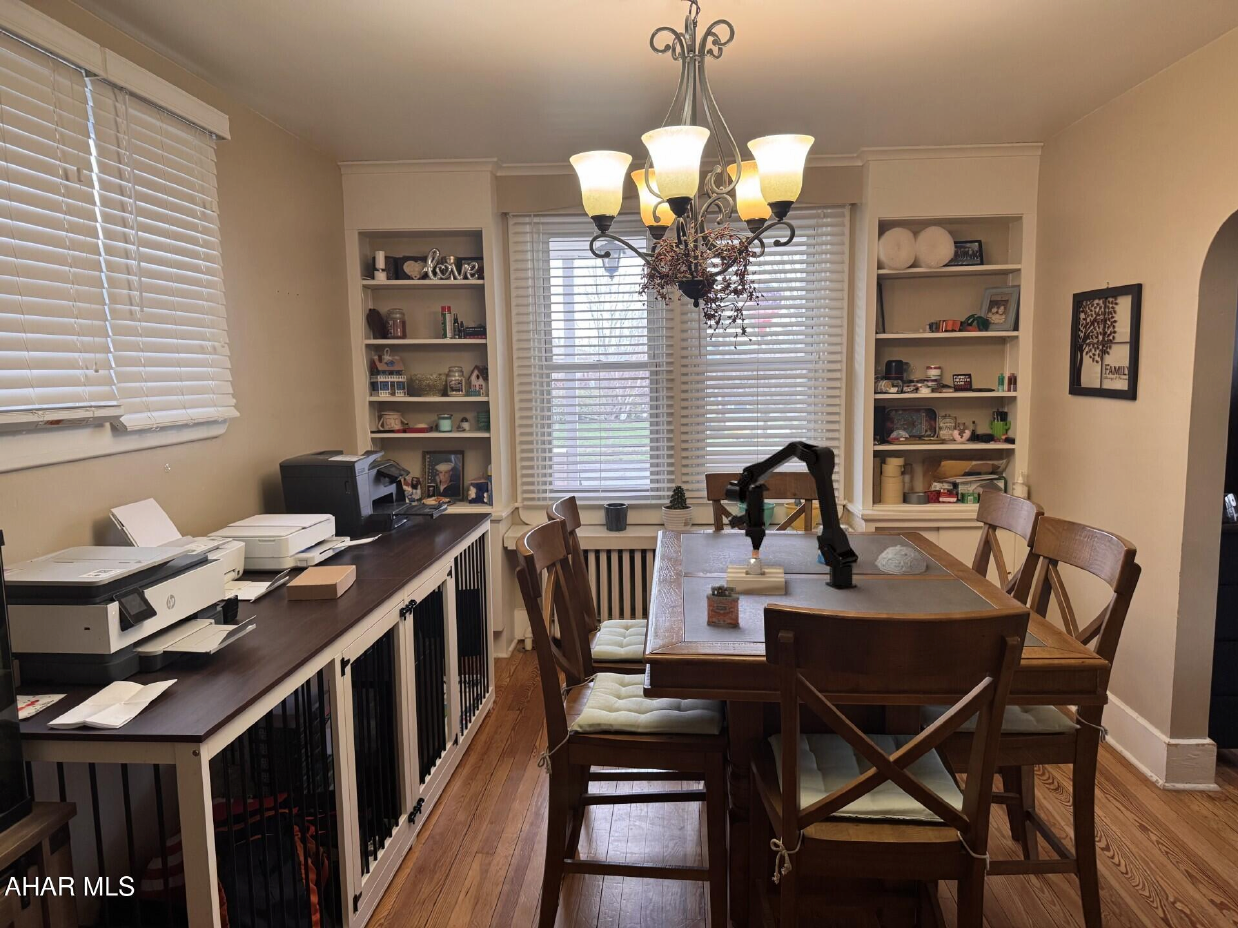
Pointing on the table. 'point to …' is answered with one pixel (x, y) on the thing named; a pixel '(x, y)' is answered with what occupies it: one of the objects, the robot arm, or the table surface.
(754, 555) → the pin
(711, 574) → the table surface
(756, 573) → the cylinder
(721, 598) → the lighter
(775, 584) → the dock
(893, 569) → the grey textured dome
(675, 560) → the table surface
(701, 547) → the table surface
